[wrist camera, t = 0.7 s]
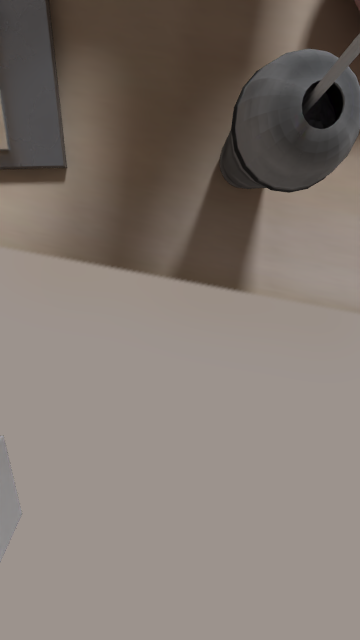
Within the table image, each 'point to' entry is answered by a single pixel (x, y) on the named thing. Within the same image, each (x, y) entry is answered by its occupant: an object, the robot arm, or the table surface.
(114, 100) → the table surface
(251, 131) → the beverage cup
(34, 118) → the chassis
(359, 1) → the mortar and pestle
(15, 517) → the robot arm
